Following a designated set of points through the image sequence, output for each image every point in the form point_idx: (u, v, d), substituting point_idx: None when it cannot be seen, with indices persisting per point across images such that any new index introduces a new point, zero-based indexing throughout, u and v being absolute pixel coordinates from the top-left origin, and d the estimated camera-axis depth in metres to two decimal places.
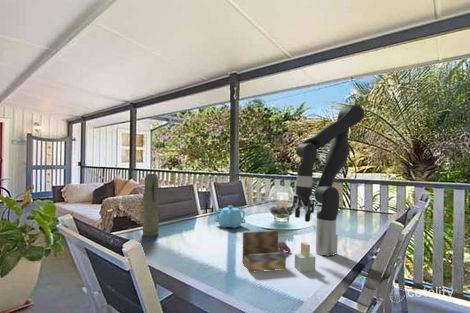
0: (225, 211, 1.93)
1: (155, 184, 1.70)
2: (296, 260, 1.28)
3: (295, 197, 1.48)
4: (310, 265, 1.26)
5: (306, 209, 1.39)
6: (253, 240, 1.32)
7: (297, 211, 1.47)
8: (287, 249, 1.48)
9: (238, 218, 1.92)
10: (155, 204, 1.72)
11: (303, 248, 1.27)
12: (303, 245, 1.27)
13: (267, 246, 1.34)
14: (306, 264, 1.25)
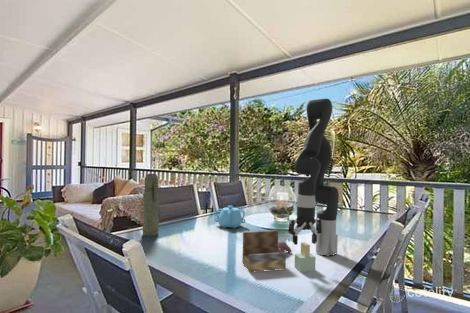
0: (225, 211, 1.93)
1: (155, 184, 1.70)
2: (296, 260, 1.28)
3: None
4: (310, 265, 1.26)
5: (315, 230, 1.28)
6: (253, 240, 1.32)
7: None
8: (288, 249, 1.48)
9: (238, 218, 1.92)
10: (155, 204, 1.72)
11: (303, 248, 1.27)
12: (303, 245, 1.27)
13: (267, 246, 1.34)
14: (306, 264, 1.25)
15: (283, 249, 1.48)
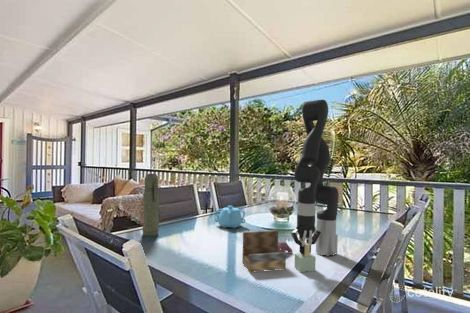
0: (225, 211, 1.93)
1: (155, 184, 1.70)
2: (296, 260, 1.28)
3: None
4: (310, 265, 1.26)
5: None
6: (253, 240, 1.32)
7: None
8: (289, 249, 1.48)
9: (238, 218, 1.92)
10: (155, 204, 1.72)
11: None
12: None
13: (267, 246, 1.34)
14: (306, 263, 1.25)
15: (284, 249, 1.48)
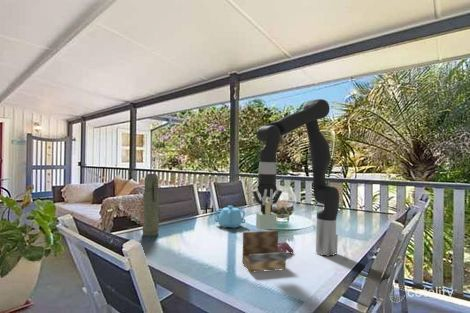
0: (225, 211, 1.93)
1: (155, 184, 1.70)
2: (257, 218, 1.28)
3: (255, 192, 1.26)
4: (271, 222, 1.26)
5: None
6: (253, 240, 1.32)
7: None
8: (290, 250, 1.47)
9: (238, 218, 1.92)
10: (155, 204, 1.72)
11: None
12: None
13: (267, 246, 1.34)
14: (267, 221, 1.26)
15: (285, 249, 1.47)
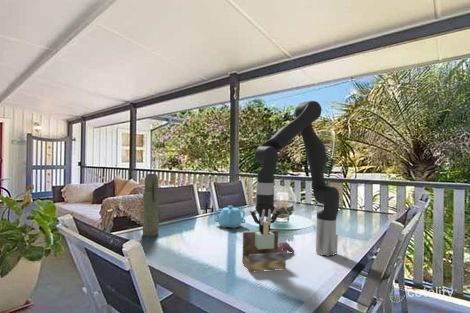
0: (225, 211, 1.93)
1: (155, 184, 1.70)
2: (256, 238, 1.30)
3: (253, 212, 1.28)
4: (269, 242, 1.28)
5: None
6: (253, 240, 1.32)
7: None
8: (290, 250, 1.47)
9: (238, 218, 1.92)
10: (155, 204, 1.72)
11: None
12: None
13: None
14: (265, 241, 1.27)
15: (286, 250, 1.47)
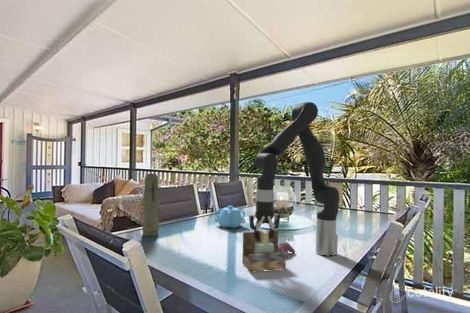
0: (225, 211, 1.93)
1: (155, 184, 1.70)
2: (255, 248, 1.30)
3: (252, 217, 1.28)
4: (268, 252, 1.28)
5: (273, 225, 1.30)
6: (253, 240, 1.32)
7: None
8: (291, 250, 1.47)
9: (238, 218, 1.92)
10: (155, 204, 1.72)
11: (262, 236, 1.30)
12: (262, 233, 1.30)
13: None
14: (264, 251, 1.28)
15: (286, 250, 1.47)
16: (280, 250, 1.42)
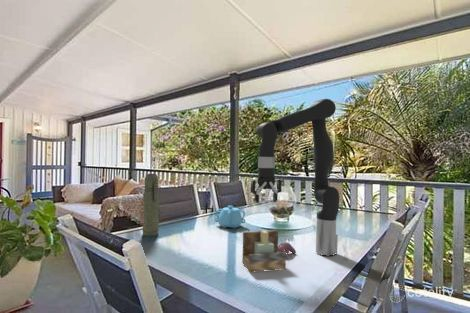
0: (225, 211, 1.93)
1: (155, 184, 1.70)
2: (255, 248, 1.30)
3: None
4: (268, 252, 1.28)
5: None
6: (253, 240, 1.32)
7: None
8: (292, 250, 1.47)
9: (238, 218, 1.92)
10: (155, 204, 1.72)
11: (262, 236, 1.30)
12: (262, 233, 1.30)
13: None
14: (264, 251, 1.28)
15: (287, 250, 1.47)
16: (281, 250, 1.41)
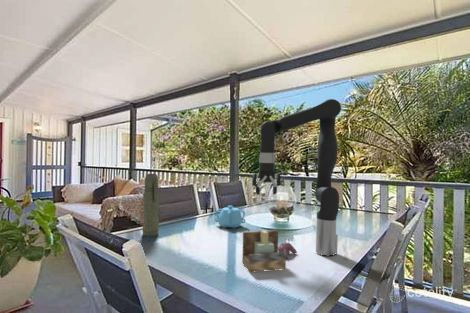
0: (225, 211, 1.93)
1: (155, 184, 1.70)
2: (255, 248, 1.30)
3: None
4: (268, 252, 1.28)
5: (275, 183, 1.50)
6: (253, 240, 1.32)
7: None
8: (293, 250, 1.47)
9: (238, 218, 1.92)
10: (155, 204, 1.72)
11: (262, 236, 1.30)
12: (262, 233, 1.30)
13: None
14: (264, 251, 1.28)
15: (288, 250, 1.47)
16: (282, 250, 1.41)
